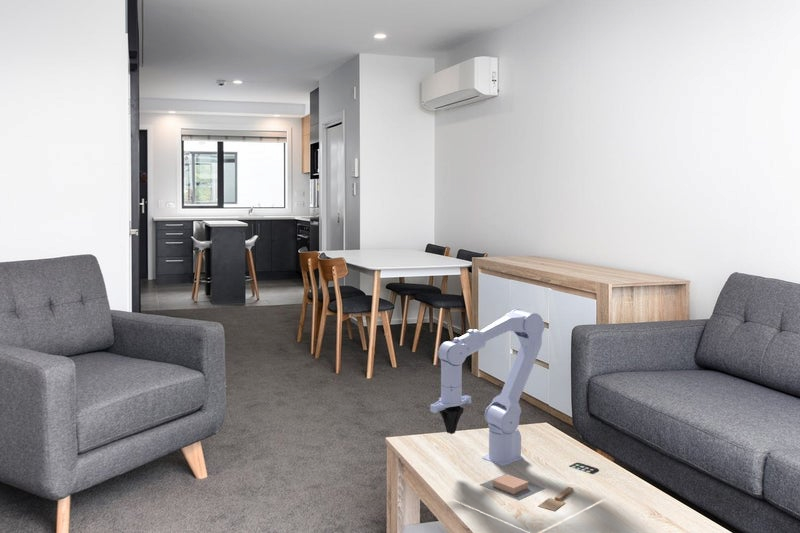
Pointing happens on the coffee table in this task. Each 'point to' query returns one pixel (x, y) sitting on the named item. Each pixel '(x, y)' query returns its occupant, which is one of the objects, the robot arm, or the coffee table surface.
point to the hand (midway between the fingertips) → (450, 432)
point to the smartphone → (584, 468)
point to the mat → (519, 495)
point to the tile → (510, 484)
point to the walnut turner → (556, 500)
